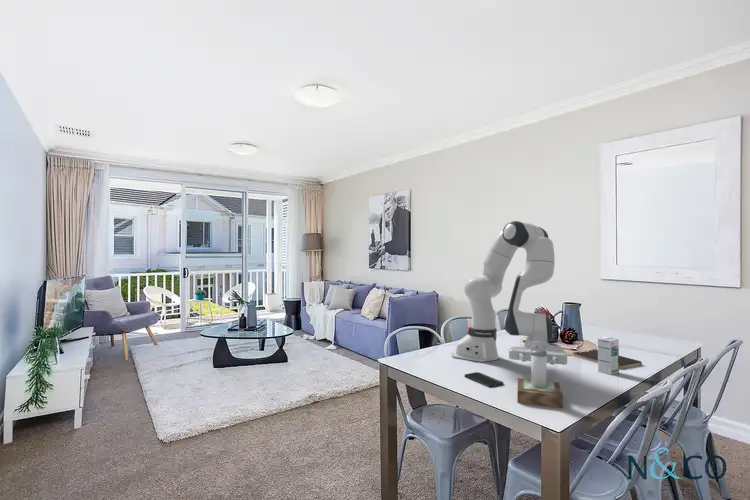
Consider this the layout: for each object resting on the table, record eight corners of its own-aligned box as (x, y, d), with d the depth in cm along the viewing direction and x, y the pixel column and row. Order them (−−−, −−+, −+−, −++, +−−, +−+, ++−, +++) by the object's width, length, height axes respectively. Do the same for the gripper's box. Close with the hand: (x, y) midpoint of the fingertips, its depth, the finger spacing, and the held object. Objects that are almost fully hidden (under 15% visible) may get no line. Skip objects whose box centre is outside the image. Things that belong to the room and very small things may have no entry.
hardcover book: (618, 370, 172) (618, 365, 172) (572, 357, 193) (572, 352, 193) (641, 366, 178) (641, 361, 178) (595, 353, 199) (595, 349, 199)
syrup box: (611, 375, 164) (611, 340, 164) (597, 371, 169) (597, 337, 169) (619, 373, 167) (619, 338, 167) (605, 369, 172) (605, 336, 172)
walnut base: (517, 402, 135) (517, 389, 135) (517, 388, 148) (517, 377, 148) (562, 408, 130) (562, 394, 130) (558, 393, 143) (558, 381, 143)
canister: (531, 386, 137) (531, 352, 137) (530, 382, 142) (530, 348, 142) (547, 388, 135) (547, 353, 135) (546, 383, 140) (546, 350, 140)
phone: (477, 371, 165) (504, 382, 152) (477, 374, 165) (504, 385, 152) (463, 374, 162) (489, 385, 148) (463, 377, 162) (489, 388, 148)
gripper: (508, 340, 158) (507, 349, 145) (565, 345, 151) (569, 354, 138) (508, 356, 158) (507, 366, 145) (564, 362, 151) (568, 372, 138)
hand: (537, 360), depth 141 cm, fingers open, 8 cm apart
